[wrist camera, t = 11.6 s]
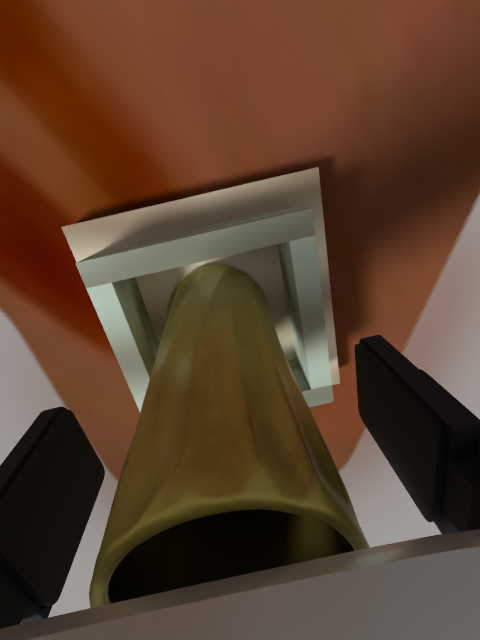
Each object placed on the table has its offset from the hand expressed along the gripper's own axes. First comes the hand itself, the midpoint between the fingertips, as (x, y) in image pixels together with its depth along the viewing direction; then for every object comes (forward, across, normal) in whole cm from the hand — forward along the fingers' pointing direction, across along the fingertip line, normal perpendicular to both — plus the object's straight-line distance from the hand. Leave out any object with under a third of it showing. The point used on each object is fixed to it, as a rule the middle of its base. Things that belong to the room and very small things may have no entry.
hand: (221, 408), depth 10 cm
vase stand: (+11, 0, +1) cm, 11 cm away
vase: (+10, 0, 0) cm, 10 cm away
